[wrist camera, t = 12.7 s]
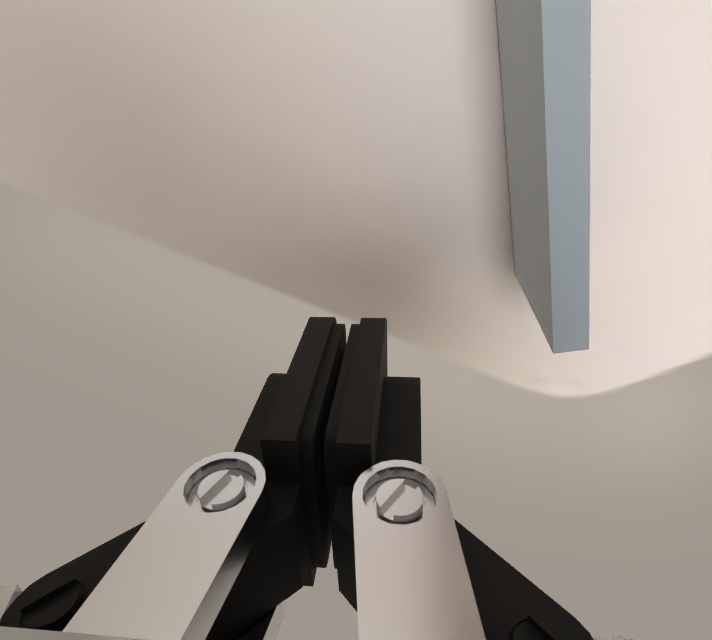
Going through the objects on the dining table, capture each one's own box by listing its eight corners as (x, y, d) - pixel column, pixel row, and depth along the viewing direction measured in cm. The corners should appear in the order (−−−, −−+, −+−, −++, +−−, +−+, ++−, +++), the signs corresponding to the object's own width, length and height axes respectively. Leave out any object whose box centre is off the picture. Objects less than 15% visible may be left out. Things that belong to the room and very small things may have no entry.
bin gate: (478, -177, 14) (525, -322, 8) (523, -191, 14) (600, -350, 8) (511, 272, 20) (550, 355, 15) (542, 267, 20) (593, 350, 14)
